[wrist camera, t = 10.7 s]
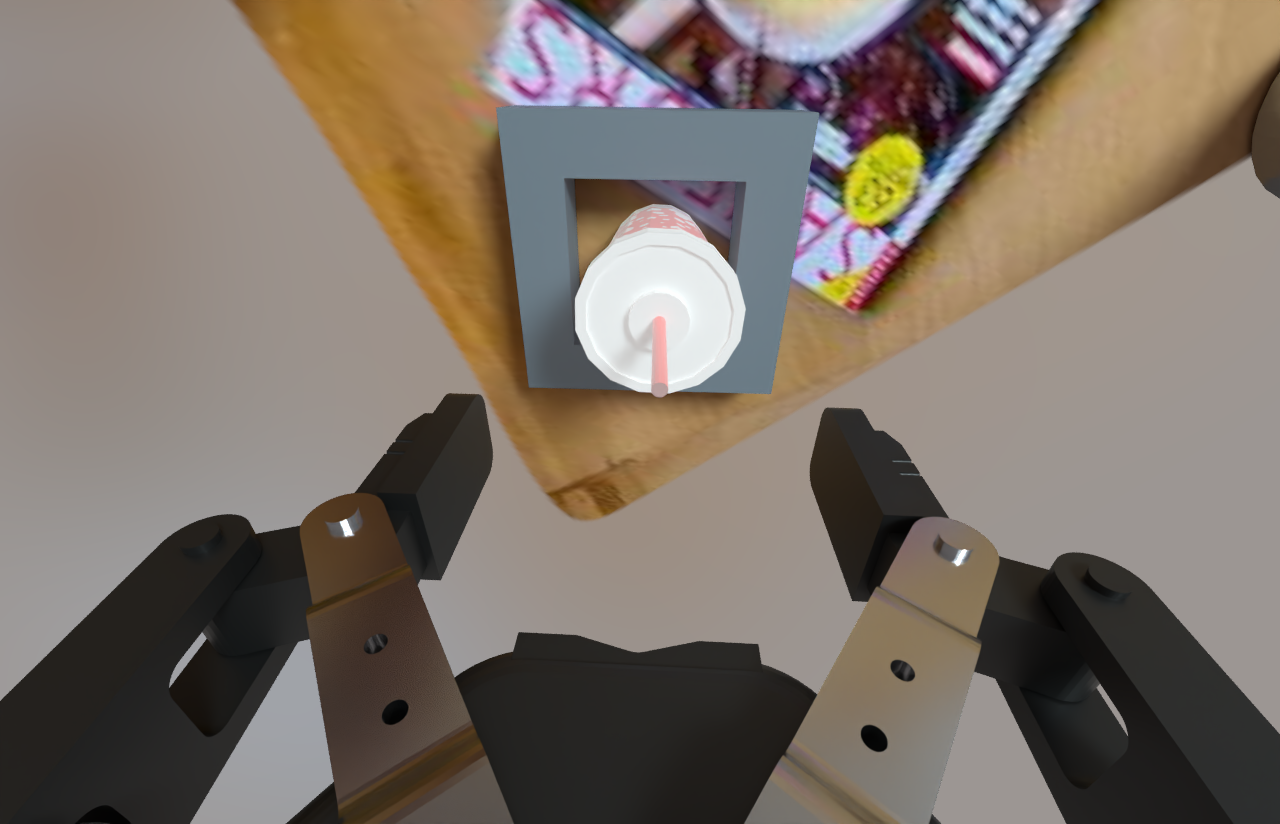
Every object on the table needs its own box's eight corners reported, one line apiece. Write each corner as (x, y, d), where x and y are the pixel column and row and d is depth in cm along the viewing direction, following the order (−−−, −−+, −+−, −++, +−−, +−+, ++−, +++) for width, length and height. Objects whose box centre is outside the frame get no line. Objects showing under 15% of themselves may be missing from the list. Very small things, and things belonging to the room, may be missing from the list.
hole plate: (801, 110, 22) (819, 112, 20) (761, 367, 29) (771, 394, 27) (514, 105, 23) (496, 107, 20) (540, 361, 29) (528, 387, 27)
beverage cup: (683, 159, 24) (709, 232, 12) (740, 273, 26) (807, 424, 15) (574, 229, 26) (502, 353, 14) (637, 329, 28) (623, 504, 16)
